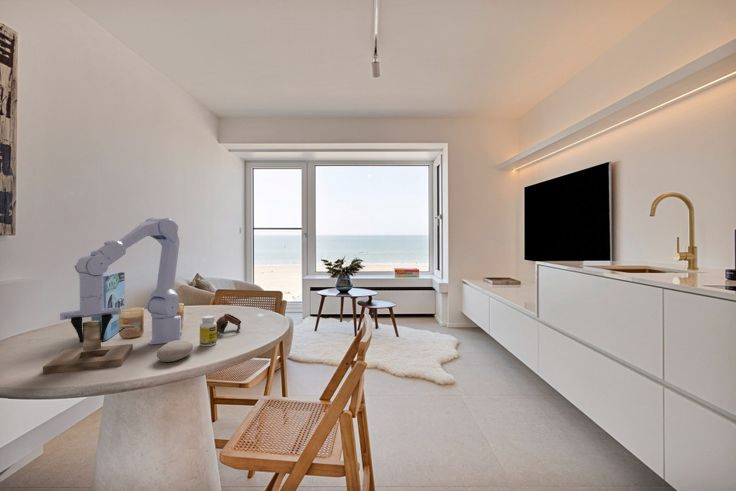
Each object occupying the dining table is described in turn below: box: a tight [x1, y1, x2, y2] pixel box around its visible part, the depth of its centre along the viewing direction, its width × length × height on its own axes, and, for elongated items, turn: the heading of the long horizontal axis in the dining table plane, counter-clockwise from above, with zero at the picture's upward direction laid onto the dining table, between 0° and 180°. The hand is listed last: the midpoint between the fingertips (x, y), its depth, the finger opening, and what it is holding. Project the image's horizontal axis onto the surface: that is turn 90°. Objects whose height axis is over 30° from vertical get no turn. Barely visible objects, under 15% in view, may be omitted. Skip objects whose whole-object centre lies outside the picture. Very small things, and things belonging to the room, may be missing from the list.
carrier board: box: [42, 343, 134, 375], centre depth 111 cm, size 18×16×2 cm
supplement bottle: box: [199, 315, 218, 347], centre depth 128 cm, size 5×5×10 cm
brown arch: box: [215, 313, 242, 334], centre depth 144 cm, size 12×10×8 cm
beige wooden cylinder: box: [82, 320, 102, 351], centre depth 110 cm, size 4×4×8 cm
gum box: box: [90, 271, 126, 342], centre depth 140 cm, size 20×5×23 cm, turn 16°
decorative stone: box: [156, 339, 194, 363], centre depth 114 cm, size 13×9×5 cm
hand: (92, 340), depth 111 cm, fingers closed on beige wooden cylinder, 4 cm apart
